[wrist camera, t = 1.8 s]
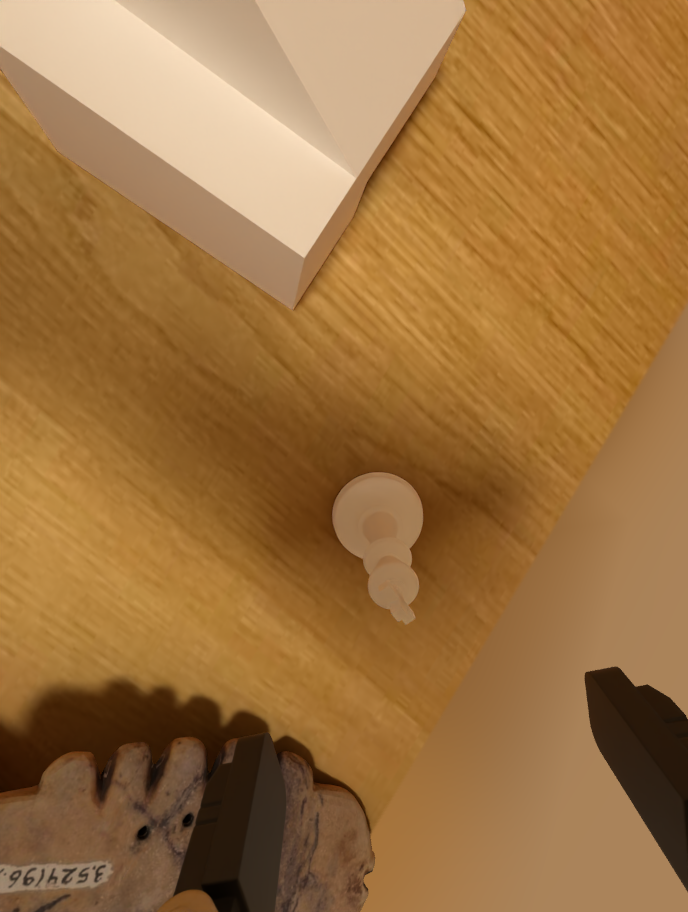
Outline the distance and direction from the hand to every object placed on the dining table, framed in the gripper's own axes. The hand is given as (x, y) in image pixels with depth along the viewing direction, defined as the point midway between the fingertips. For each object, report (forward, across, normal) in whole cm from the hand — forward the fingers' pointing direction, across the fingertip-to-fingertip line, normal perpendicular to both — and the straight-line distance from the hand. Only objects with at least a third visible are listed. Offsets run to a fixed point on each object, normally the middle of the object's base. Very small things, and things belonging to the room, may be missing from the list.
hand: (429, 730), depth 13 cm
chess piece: (+16, 0, 0) cm, 16 cm away
